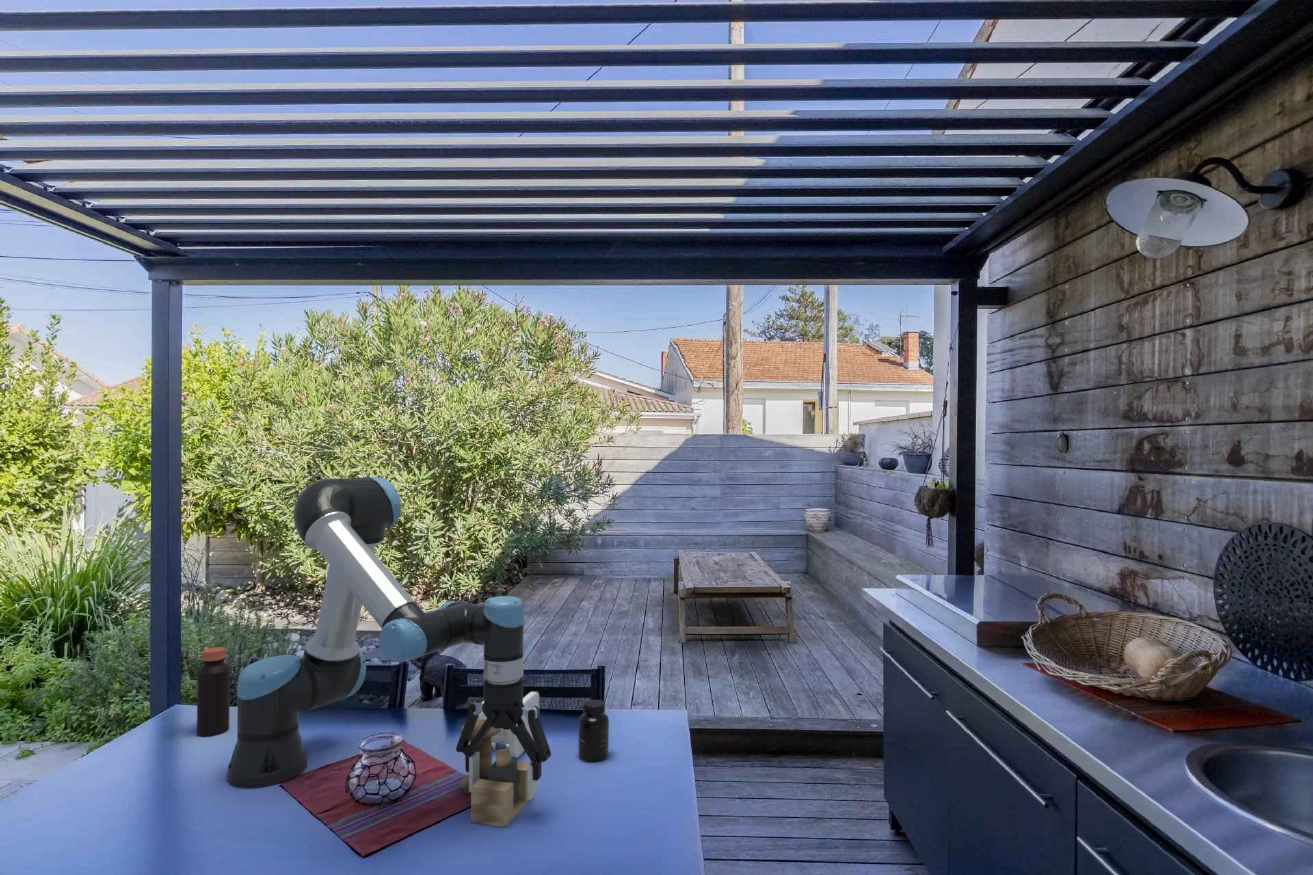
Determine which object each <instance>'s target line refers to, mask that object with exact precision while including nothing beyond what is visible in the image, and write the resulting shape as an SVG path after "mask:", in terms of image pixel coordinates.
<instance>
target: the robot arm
mask: <svg viewBox="0 0 1313 875" xmlns="http://www.w3.org/2000/svg"><path fill="white" fill-rule="evenodd" d="M400 498H401V497H400V495H399V494H398V491H397V488H396V487H395V485H394V484H393V483H391V481H389V480H387V479H385V478H382V477H371V476H364V477H350V478H349V477H347V478H345V477H344V478H326V479H325V478H324V479H320V480H317V481H314V482H313V483H311V484H309V485H308V486H306V488H304V489H303V490H302V492H301V493H300V494H299V496H298V497H297V500H296V501H295V503H294V506H293V507H294V508H293V522H294V526H295V529H296V531H297V535H299V537H300V538H301V540H302V541H303V543H305V545H306V546H307V547H308V549H311V550H314V551H315V550H316V551H318V552H319V553H320V554H321V556H322V558H324V560H326V562H327V563H328V564H329V567H328V569H327V575H326V576H327V577H326V581H325V585H324V590H323V595H322V600H321V604H320V610H319V614H318V619H317V624H316V629H315V634H314V636H313V637H311V639H309V640H307V642H305V647H304V651H303V655H302V657H300V658H299V657H298V656H296V655H294V654H278V655H277V656H269V657H265V658H262V659H259V660H257V661H253V662H252V663H250V664H249V665H247V666H246V667H244V668H243V670H242V671H241V672H240V674H239V675H238V682H237V689H236V697H237V723H236V724H237V726H236V727H237V732H236V735H237V736H236V737H237V738H236V744H235V746H234V749H233V752H232V756H231V759H230V762H229V763H228V765H227V769H226V772H227V773H226V774H227V776H226V781H227V783H228V784H230V785H231V786H234V787H237V788H249V789H250V788H261V787H267V786H268V787H269V786H273V785H276V784H280V783H283V782H286V781H288V780H291V779H293V778H294V777H295V778H296V777H297V776H298V775H300V774H302V773H303V772H304V771H305V770H306V768H307V767H308V752H307V750H306V749H305V748H304V744H303V740H302V737H301V736H302V735H301V733H300V730H299V728H300V727H299V724H300V723H299V722H300V721H299V719H300V714H302V713H306V712H309V711H311V710H314V709H317V708H321V707H323V706H326V705H329V704H332V703H338V702H341V701H342V700H345V699H346V698H348V697H351V696H353V695H354V694H356V693H357V692H358V691H359V690H360V688H361V686H362V685H363V683H364V681H365V678H366V675H367V674H366V673H367V665H366V664H365V660H366V658H365V655H364V653H363V652H362V650H361V648H360V645H359V644H358V642H356V641H355V639H356V636H357V630H358V625H359V621H360V615H361V611H362V607H364V609H365V610H366V611H367V612H368V613H369V615H370V616H371V617H372V618H373V620H374V621H375V622H376V624H377V625H378V626H379V627H380V628H381V630H380V634H379V637H378V638H379V646H380V647H381V649H382V652H381V653H382V655H384V657H385V658H386V659H387V660H388V661H391V662H394V663H401V662H406V661H411V660H412V661H413V660H417V659H418V658H421V657H423V656H425V655H429V654H433V653H435V652H438V651H442V650H446V649H449V648H452V647H455V646H458V645H462V644H467V643H469V644H472V645H473V644H474V645H480V646H483V679H485V680H484V681H483V701H484V703H482V702H480V701H479V700H474V701H473V702H472V703H470V704H469V705H468V707H467V718H466V721H465V723H464V724H465V725H464V724H463V725H464V728H463V731H462V733H461V732H460V736H459V739H458V742H457V744H456V747H455V750H456V752H457V753H462V754H463V755H464V756H465V759H464V760H465V761H464V762H465V765H464V766H465V768H464V769H465V772H466V773H468V775H469V792H471V786H473V785H474V784H475V783H476V782H477V781H478V780H479V759H480V752H475V751H476V750H477V748H478V746H479V745H480V743H481V742H482V740H483V739H484V737H485V736H486V735H487V733H488V732H489V730H490V729H491V727H492V726H493V727H494V728H495V729H498V728H502V729H505V730H509V729H510V730H511V732H512V733H513V734H515V735H516V737H517V739H518V740H519V742H520V744H521V745H522V747H523V749H524V750H525V751H524V752H525V753H526V755H527V757H528V758H529V760H530V762H528V763H529V764H528V799H529V801H531V800H533V798H534V797H535V796H536V795H537V794H538V781H539V780H540V779H541V777H542V766H543V765H542V763H545V762H547V760H548V759H550V757H551V756H552V752H551V749H550V746H549V743H548V740H547V737H546V734H545V732H544V731H545V730H544V729H543V726H542V723H541V720H540V707H539V708H538V707H537V706H534V707H533V708H525V707H524V705H523V698H524V679H523V678H522V677H524V631H525V616H524V614H525V613H524V603H523V601H522V599H520V598H519V597H517V596H509V595H508V596H504V595H501V596H492V597H490V598H487V599H486V600H485V601H484V604H477V603H471V602H467V601H463V600H459V601H458V600H457V601H453V600H451V601H446V602H444V603H442V605H440V607H438V608H437V609H436V610H431V611H427V612H426V611H424V610H423V609H422V608H421V607H420V606H419V605H418V603H417V602H416V601H415V599H413V597H412V596H411V595H410V594H409V593H408V592H407V591H406V589H405V588H404V587H403V586H402V584H401V583H400V582H399V581H398V580H397V578H395V577H394V575H393V574H392V573H391V572H390V571H389V569H388V567H386V566H385V565H384V563H383V562H382V561H381V560H380V558H378V556H377V555H376V553H374V552H375V547H376V546H378V545H380V544H382V542H383V541H384V539H385V533H386V529H389V528H391V527H393V526H394V525H396V524H397V523H398V522H399V520H400V517H401V513H402V502H401V499H400ZM481 711H483V713H484V715H485V716H486V718H487V719H486V721H485V722H484V724H483V725H482V726H481V729H480V730H479V732H478V733H477V734H476V736H475V737H474V739H473V740H472V742H471V743H470V738H471V735H472V732H473V730H474V727H475V724H476V722H477V719H478V716H479V714H480V713H481ZM523 714H524V715H525V716H526V720H528V724H529V728H530V730H531V733H532V736H533V739H534V740H533V739H532V737H531V736H530V734H529V732H528V731H527V729H526V727H525V723H524V721H523V719H522V718H521V717H522V715H523ZM516 724H517V725H518V726H516Z"/></svg>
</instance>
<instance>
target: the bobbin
mask: <svg viewBox="0 0 1313 875" xmlns="http://www.w3.org/2000/svg"><path fill="white" fill-rule="evenodd" d="M485 721H486V719H480V720H477V722H476V724H475V727H474V730H473V732H472V735H471V738H470V740H469V744H470V743H471V742H472V740H473V739H474V737H475V736H476V734H477V733H478V732H479V730H480V729H481V726H482V725H483V724H484V722H485ZM464 725H465V723H463V724H462V725H461V727H460V734H461V733H462V731H463V728H464ZM500 731H501V728H498V729H495V728H494V727H493V726H492V727H491V729H490V730H489V732H488V733H487V735H486V736H485V737H484V739H483V740H482V742H481V743H480V745H479V746H478V748H477V750H476V751H475V752H480V759H479V779H484V780H489V767H490V766H491V765H492V764H493V763H492V760H493V759H492V757H493V756H492V751H493V747H492V736H495V735H497V734H498V733H499V732H500ZM460 790H461V791H462V790H463V791H465V792H468V793H471V792H469V774H467V775H465V776H464V777H462V778H461V780H460ZM463 791H462V792H463ZM465 792H464V793H465ZM468 793H467V794H468Z"/></svg>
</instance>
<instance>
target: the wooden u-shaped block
mask: <svg viewBox="0 0 1313 875" xmlns="http://www.w3.org/2000/svg"><path fill="white" fill-rule="evenodd" d="M529 763H530V762H523V761H517V803H516V804H515V805H514V806H513V784H514V783H508V782H500V781H492V780H484V779H479V780H478V781H477V782H476V783H475V784H474V785H473V786H471V794H470V823H472V824H479V825H487V826H493V827H500V828H507V826H508V825H509V824H510V823H511V822H512V821H513V819H514V818H516V816H518V814H519V813H520V812H521V811H520V810H523V809H524V807H525V806H526V805H527V804H528V803H529V802H528V801H530V800H529V799H528V764H529ZM527 802H528V803H527ZM526 803H527V804H526ZM525 804H526V805H525ZM524 805H525V806H524Z"/></svg>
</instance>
